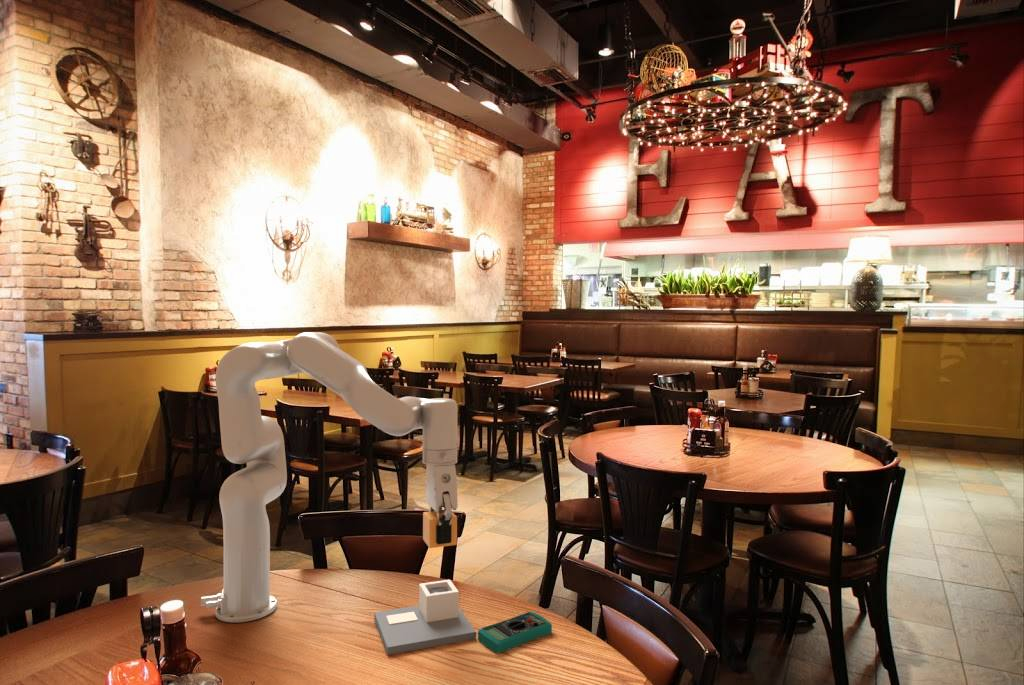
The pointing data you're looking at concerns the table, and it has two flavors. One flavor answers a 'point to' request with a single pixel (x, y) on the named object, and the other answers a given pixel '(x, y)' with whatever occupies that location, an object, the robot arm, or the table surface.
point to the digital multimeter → (514, 631)
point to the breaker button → (437, 590)
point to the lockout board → (425, 621)
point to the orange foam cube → (430, 529)
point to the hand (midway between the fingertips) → (439, 537)
